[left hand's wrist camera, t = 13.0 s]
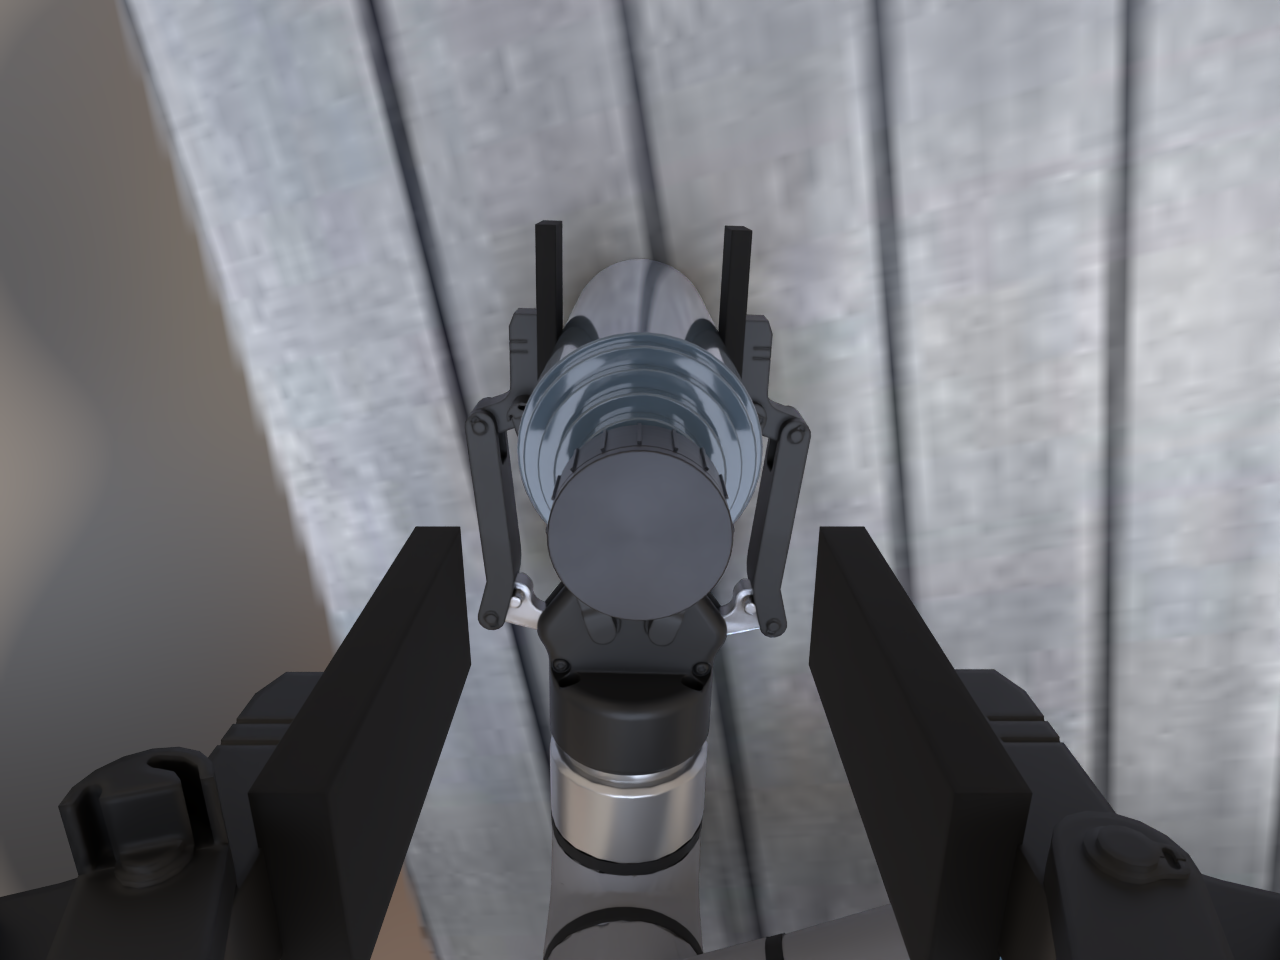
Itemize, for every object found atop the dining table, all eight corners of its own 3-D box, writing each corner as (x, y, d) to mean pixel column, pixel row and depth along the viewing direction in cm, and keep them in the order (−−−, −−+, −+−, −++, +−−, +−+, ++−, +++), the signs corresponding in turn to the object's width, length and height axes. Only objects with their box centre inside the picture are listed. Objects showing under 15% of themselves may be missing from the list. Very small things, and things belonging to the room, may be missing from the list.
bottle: (588, 406, 41) (527, 688, 19) (558, 274, 39) (446, 413, 17) (718, 380, 41) (815, 637, 18) (694, 245, 39) (771, 348, 16)
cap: (575, 596, 20) (569, 637, 18) (535, 441, 18) (524, 469, 17) (739, 566, 19) (748, 605, 18) (710, 406, 18) (717, 431, 16)
